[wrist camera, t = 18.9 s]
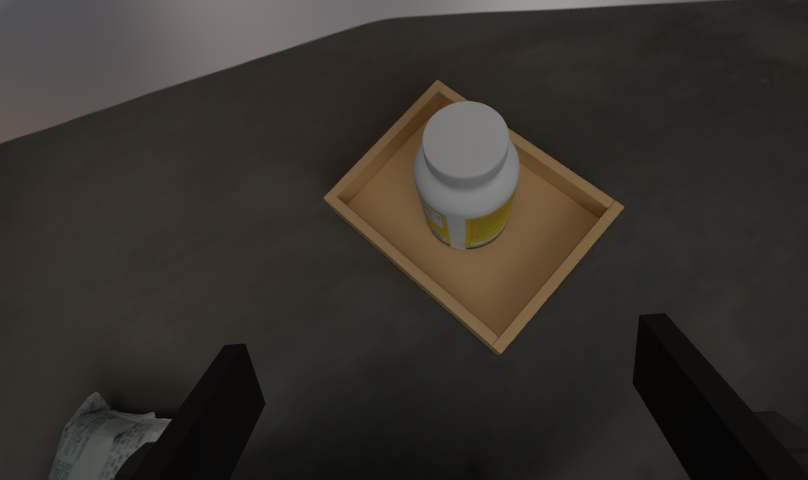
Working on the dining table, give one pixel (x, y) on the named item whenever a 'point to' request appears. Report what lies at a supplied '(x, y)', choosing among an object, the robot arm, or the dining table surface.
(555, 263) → the tray
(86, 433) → the packaged food
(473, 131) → the pill bottle
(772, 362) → the dining table surface
